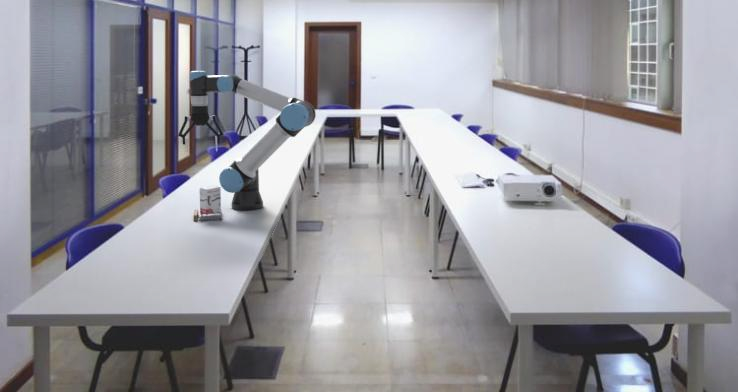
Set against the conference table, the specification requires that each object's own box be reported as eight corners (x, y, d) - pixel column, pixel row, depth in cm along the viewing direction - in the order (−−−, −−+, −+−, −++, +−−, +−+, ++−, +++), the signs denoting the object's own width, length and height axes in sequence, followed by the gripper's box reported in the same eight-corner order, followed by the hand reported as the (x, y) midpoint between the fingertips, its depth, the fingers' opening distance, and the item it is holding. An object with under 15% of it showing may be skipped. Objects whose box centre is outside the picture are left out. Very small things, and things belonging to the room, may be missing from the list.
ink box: (206, 215, 318) (205, 189, 316) (199, 213, 322) (198, 187, 319) (222, 211, 325) (220, 186, 323) (215, 210, 328) (213, 185, 326)
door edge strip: (198, 214, 328) (198, 209, 328) (197, 220, 317) (196, 215, 316) (195, 214, 328) (194, 209, 328) (193, 220, 317) (193, 215, 316)
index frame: (221, 213, 331) (221, 209, 331) (221, 219, 318) (221, 215, 318) (200, 214, 329) (200, 210, 329) (199, 221, 316) (199, 216, 316)
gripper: (170, 106, 319) (173, 153, 323) (227, 105, 323) (229, 151, 328) (171, 105, 326) (174, 150, 330) (227, 104, 331) (229, 149, 335)
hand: (201, 151), depth 329 cm, fingers open, 13 cm apart
